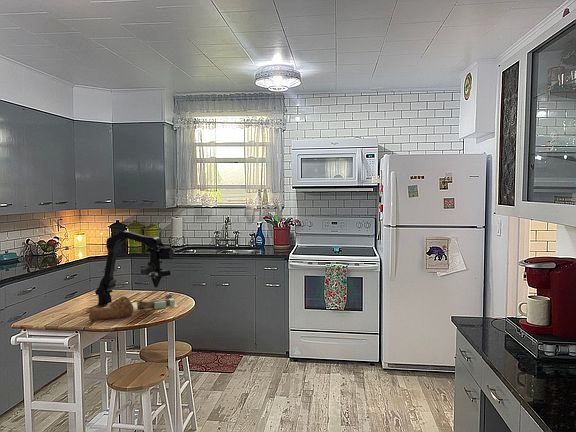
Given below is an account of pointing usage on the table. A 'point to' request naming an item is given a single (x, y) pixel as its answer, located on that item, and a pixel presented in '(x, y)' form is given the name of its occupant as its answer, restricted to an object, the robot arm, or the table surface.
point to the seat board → (153, 307)
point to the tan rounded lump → (112, 310)
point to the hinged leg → (149, 303)
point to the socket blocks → (164, 303)
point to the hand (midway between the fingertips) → (155, 287)
